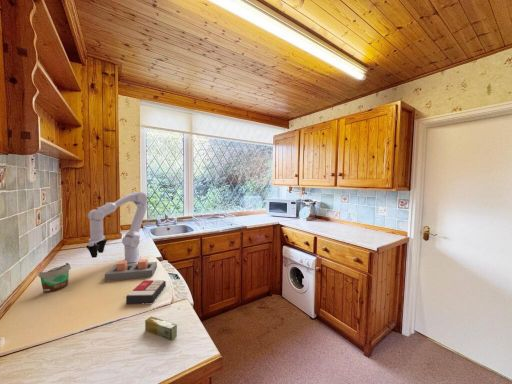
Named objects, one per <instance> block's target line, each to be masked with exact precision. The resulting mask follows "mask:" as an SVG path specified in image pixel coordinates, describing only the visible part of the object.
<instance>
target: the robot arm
mask: <svg viewBox="0 0 512 384" xmlns="http://www.w3.org/2000/svg"><path fill="white" fill-rule="evenodd" d="M147 200H148V196H147V194H146V193H145V192H141V191H140V192H137V191H132V192H129V193H128V194H126V195H124V196H123V197H121V198H119V199H118V200H116V201H114V202H111V201H110V202H105V204H103V205H102V206H100V207H99V206H97V207H96V209H91V210H90V211H89V212H88V214H87V215H86V216H87V219H89V231H90V238H89V239H88V240H87V241H88V244H87V245H86V249H87V250H88V252H89V254H90V256H91V258H92V259H94V258H95V259H96V258H97V257H98V254H101V253H104V251H105V246H106V244H107V242H108V239H107V238H106V236H105V235H104V223H103V219H104V218H105V217H106V216H108V215H109V214H112V213H113V212H116V210H117V208H119V207H120V206H123V205H124V204H128V203H129V202H132V203H133V204H134V205H135V206H136V207H137V208H136V210H135V211H136V212H135V214H134V217H133V219H132V222H131V225H130V228H129V231H128V232H126V233H125V235H124V236H123V238H121V243H122V245H123V246H124V260H123V261H127V264H134V263H138V261H139V260H140V258H141V257H142V256H140V248H139V244H140V238H141V235H140V233H139V232H140V230H141V227H142V223H143V221H144V219H145V215H146V213H147V210H148V201H147Z"/></svg>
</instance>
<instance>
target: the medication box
mask: <svg viewBox="0 0 512 384" xmlns="http://www.w3.org/2000/svg"><path fill="white" fill-rule="evenodd" d="M144 323H145V325H144V331H145V332H148V333H150V334H153V335H156V336H158V337H160V338H163V339H166V340H168V341H173V340H174V339H175V338H177V334H178V333H177V332H178V330H177V329H178V325H177V323H173V322H171V321H170V322H169V321H167V320H164V319H160V318H158V317H153V316H150V317H148V318H146V319H145V321H144Z"/></svg>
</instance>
